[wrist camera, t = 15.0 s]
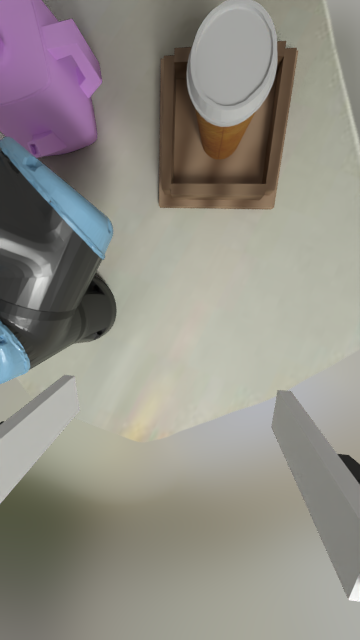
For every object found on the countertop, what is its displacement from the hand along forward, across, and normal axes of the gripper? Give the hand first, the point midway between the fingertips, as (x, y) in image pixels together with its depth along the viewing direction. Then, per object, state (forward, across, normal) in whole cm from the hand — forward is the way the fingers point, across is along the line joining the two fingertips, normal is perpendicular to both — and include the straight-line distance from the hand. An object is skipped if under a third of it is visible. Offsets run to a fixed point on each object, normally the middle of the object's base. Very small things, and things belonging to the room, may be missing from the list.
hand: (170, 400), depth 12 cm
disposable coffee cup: (+28, +4, +29) cm, 40 cm away
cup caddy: (+29, +4, +29) cm, 41 cm away
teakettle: (+29, -25, +34) cm, 51 cm away
